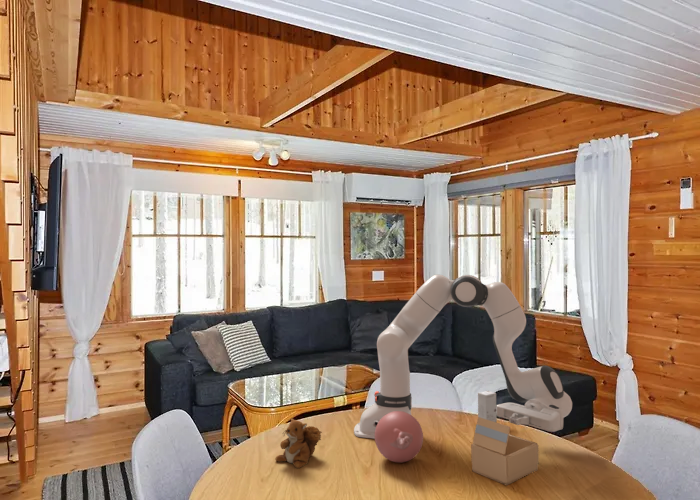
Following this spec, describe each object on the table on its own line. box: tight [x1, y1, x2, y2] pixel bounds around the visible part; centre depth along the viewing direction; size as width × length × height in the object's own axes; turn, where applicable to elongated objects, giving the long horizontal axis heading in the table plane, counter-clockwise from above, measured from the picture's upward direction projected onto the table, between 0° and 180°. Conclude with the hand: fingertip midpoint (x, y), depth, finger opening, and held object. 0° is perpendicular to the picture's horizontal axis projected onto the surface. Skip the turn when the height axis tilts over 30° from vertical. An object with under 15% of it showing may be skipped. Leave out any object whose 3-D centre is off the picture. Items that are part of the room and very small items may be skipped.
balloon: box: [374, 411, 424, 464], centre depth 158 cm, size 15×20×15 cm
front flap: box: [472, 416, 511, 454], centre depth 148 cm, size 8×11×1 cm
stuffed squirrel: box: [275, 418, 323, 469], centre depth 162 cm, size 10×14×13 cm
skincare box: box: [477, 390, 498, 423], centre depth 194 cm, size 6×4×12 cm
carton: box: [470, 433, 540, 486], centre depth 152 cm, size 16×13×8 cm
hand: (513, 421), depth 155 cm, fingers closed
